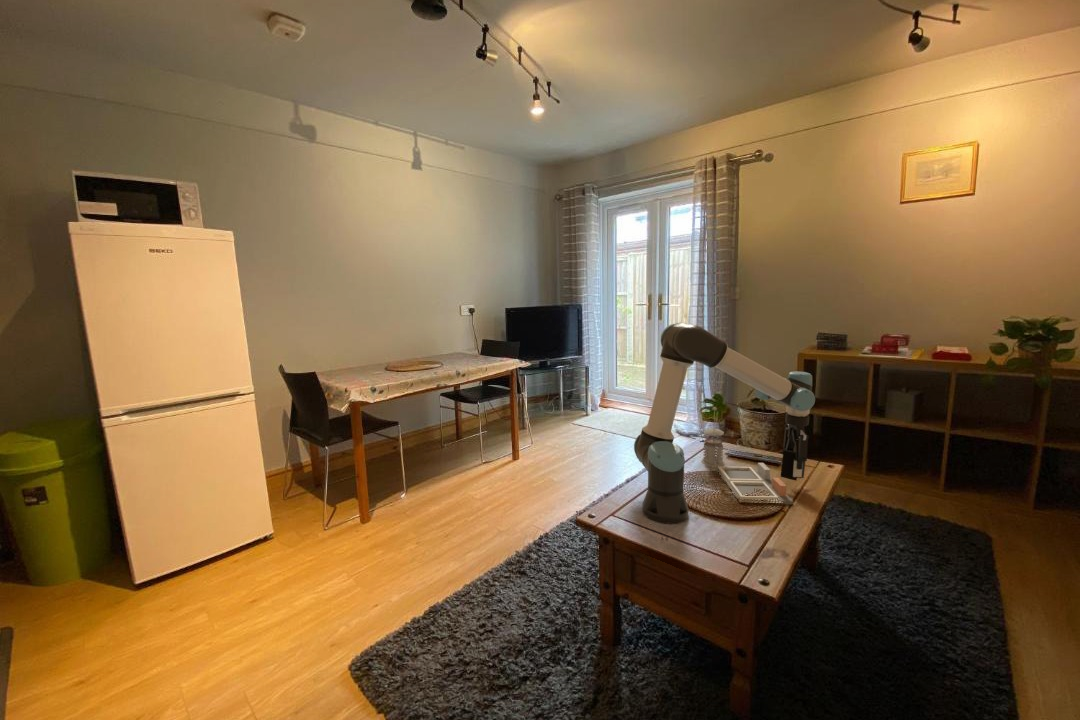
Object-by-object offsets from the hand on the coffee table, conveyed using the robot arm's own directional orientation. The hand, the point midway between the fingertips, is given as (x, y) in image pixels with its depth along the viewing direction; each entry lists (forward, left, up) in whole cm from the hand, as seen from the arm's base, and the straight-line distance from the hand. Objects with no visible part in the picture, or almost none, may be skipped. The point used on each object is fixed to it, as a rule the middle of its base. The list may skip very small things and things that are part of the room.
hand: (792, 472), depth 164 cm
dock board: (-15, 0, -6) cm, 16 cm away
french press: (-23, +22, -6) cm, 32 cm away
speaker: (0, 0, -2) cm, 2 cm away
